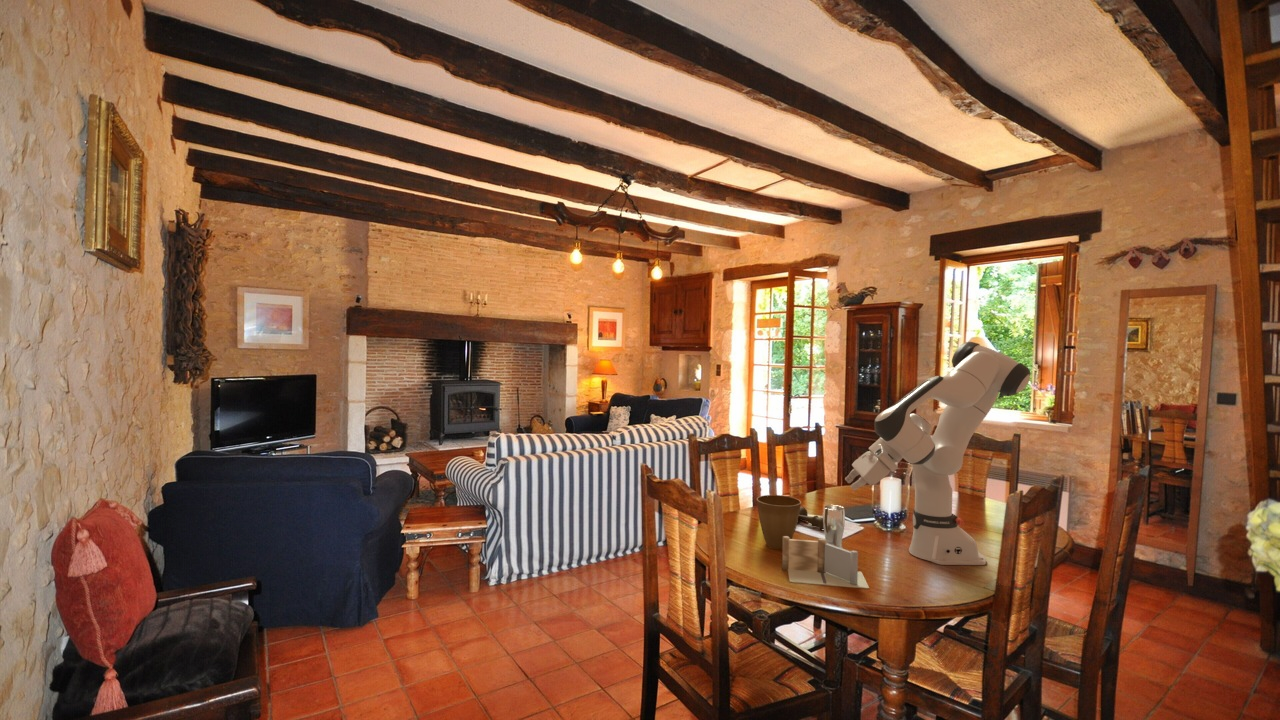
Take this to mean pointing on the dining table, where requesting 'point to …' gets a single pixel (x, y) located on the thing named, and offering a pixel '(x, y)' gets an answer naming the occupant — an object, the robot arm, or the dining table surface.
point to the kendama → (810, 518)
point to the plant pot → (778, 518)
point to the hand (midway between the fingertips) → (849, 485)
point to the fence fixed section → (803, 554)
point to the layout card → (824, 579)
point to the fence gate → (841, 563)
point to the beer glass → (834, 524)
